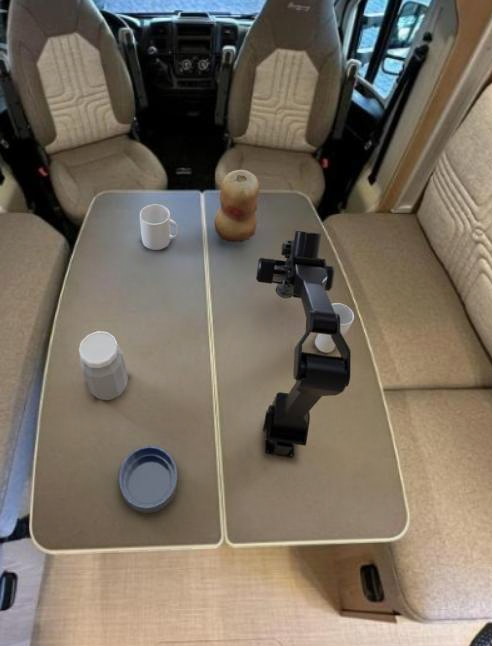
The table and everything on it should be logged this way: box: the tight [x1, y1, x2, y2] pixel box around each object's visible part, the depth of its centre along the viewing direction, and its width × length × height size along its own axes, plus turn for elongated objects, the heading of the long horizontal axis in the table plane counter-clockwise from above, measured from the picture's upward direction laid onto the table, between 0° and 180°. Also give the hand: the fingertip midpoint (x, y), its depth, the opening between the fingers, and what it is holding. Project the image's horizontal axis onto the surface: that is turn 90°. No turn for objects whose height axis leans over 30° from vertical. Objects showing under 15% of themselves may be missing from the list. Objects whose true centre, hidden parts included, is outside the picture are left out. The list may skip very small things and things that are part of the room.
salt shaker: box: [275, 280, 293, 299], centre depth 112 cm, size 6×6×12 cm
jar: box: [78, 331, 129, 401], centre depth 97 cm, size 10×10×18 cm
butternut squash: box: [213, 169, 260, 243], centre depth 130 cm, size 14×13×25 cm
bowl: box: [118, 445, 178, 514], centre depth 88 cm, size 12×12×6 cm
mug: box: [139, 203, 180, 251], centre depth 133 cm, size 10×12×12 cm
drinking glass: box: [314, 302, 355, 354], centre depth 108 cm, size 7×7×15 cm
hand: (289, 272), depth 113 cm, fingers closed on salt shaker, 3 cm apart
